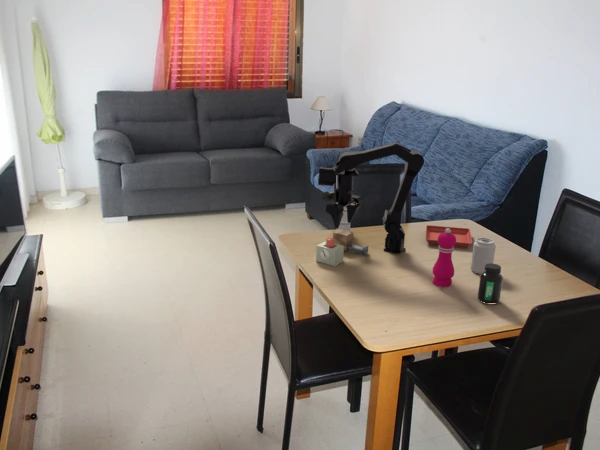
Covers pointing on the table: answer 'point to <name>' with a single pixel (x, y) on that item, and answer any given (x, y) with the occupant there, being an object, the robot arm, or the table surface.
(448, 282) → the pepper mill
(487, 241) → the can
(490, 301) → the supplement bottle
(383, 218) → the robot arm
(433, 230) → the plant saucer
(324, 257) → the cabinet
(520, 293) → the table surface
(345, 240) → the block
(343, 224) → the syrup box
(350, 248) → the rail
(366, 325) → the table surface
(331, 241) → the gauge button
